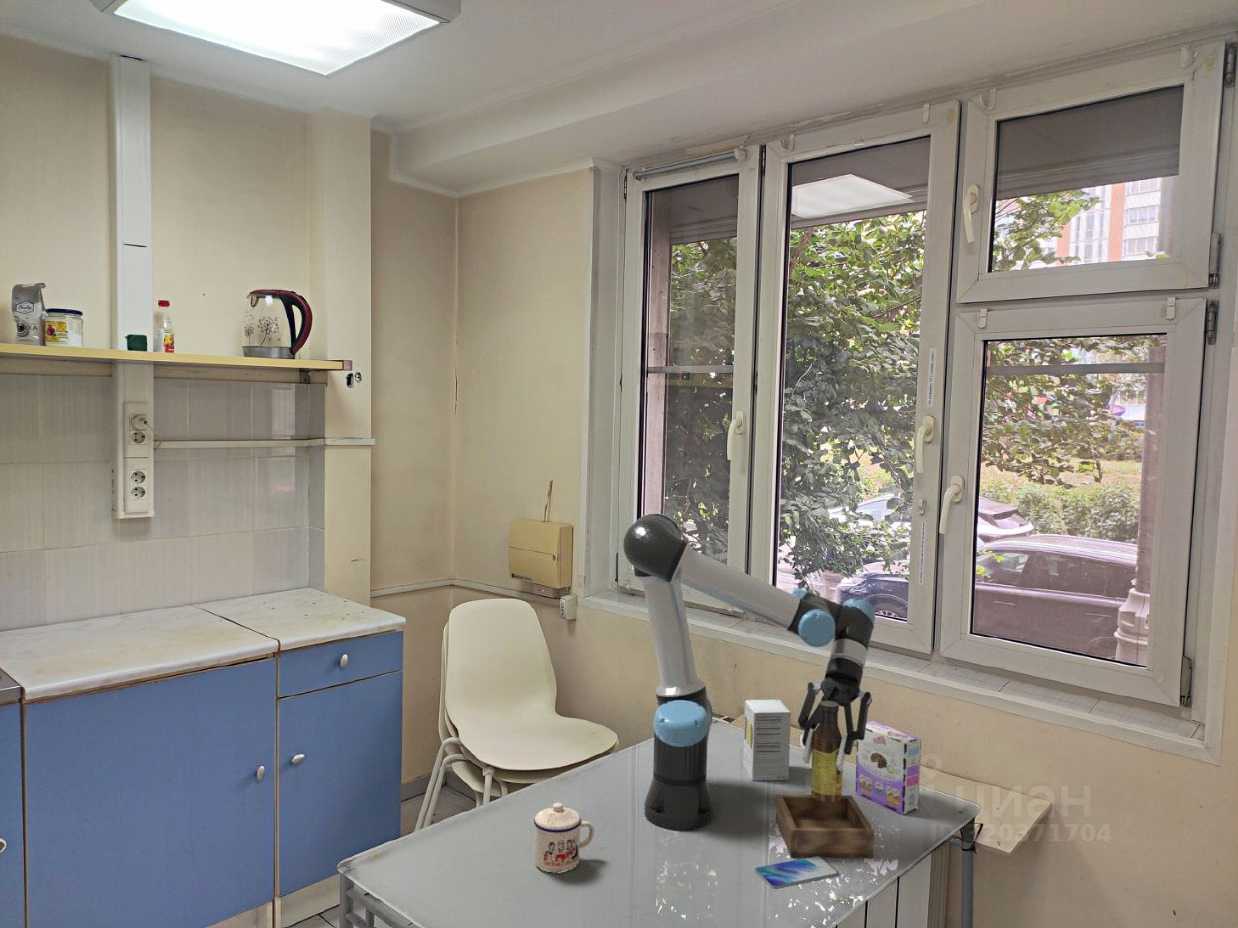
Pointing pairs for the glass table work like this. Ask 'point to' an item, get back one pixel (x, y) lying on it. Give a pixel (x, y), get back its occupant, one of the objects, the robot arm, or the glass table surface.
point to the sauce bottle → (826, 755)
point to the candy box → (889, 767)
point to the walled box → (823, 827)
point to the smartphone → (796, 872)
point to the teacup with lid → (559, 838)
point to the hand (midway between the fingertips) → (822, 763)
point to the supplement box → (766, 740)
